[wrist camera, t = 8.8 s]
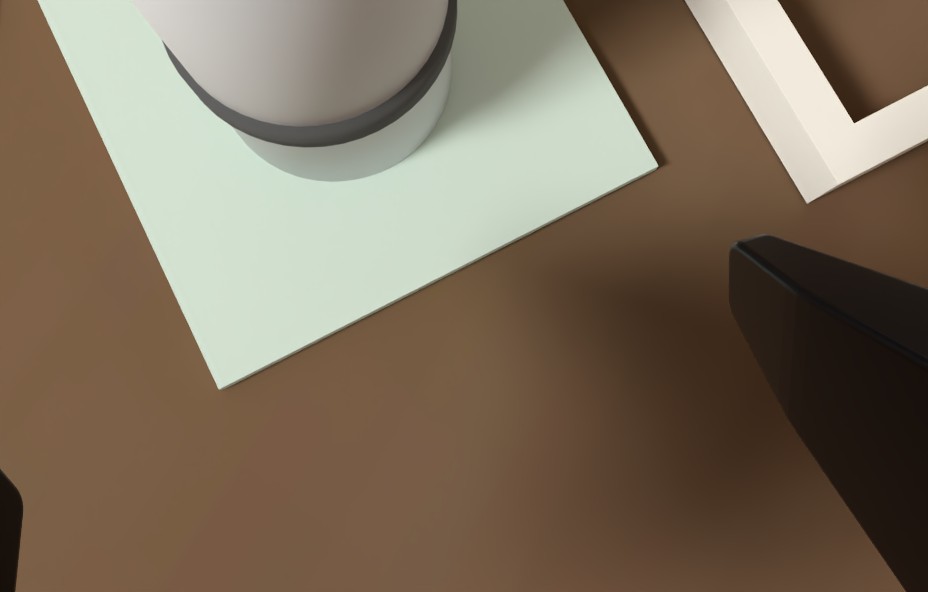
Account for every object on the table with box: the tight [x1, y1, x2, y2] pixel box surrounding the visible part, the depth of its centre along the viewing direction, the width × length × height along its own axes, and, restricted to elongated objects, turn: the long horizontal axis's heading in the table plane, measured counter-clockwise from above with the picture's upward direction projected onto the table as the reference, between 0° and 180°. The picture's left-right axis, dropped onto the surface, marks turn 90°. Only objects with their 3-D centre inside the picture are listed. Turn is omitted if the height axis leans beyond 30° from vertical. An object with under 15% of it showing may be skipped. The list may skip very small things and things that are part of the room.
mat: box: [38, 0, 658, 390], centre depth 18 cm, size 11×11×1 cm
